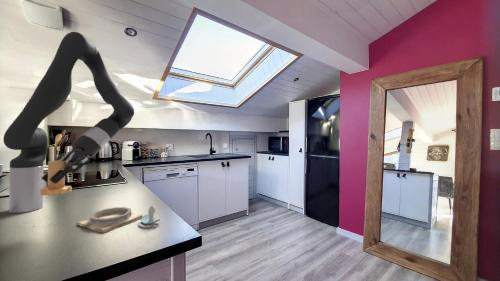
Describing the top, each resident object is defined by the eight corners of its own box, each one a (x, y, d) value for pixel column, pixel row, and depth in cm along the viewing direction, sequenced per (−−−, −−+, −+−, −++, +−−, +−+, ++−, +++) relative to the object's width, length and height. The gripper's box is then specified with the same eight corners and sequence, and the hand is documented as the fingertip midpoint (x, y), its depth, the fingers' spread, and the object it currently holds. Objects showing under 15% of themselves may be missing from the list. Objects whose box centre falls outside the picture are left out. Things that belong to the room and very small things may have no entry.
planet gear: (33, 193, 64) (34, 161, 64) (63, 188, 71) (64, 159, 71) (47, 197, 61) (47, 163, 61) (77, 191, 68) (77, 161, 68)
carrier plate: (76, 224, 70) (76, 216, 70) (117, 211, 83) (117, 204, 83) (103, 233, 64) (103, 223, 64) (142, 217, 77) (142, 209, 77)
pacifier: (145, 231, 67) (162, 224, 72) (145, 212, 67) (162, 206, 72) (134, 225, 71) (151, 219, 76) (134, 207, 71) (150, 202, 76)
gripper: (72, 134, 76) (25, 171, 64) (96, 134, 70) (50, 176, 59) (87, 148, 80) (46, 185, 69) (112, 149, 75) (71, 190, 64)
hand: (48, 180), depth 64 cm, fingers closed on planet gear, 4 cm apart
